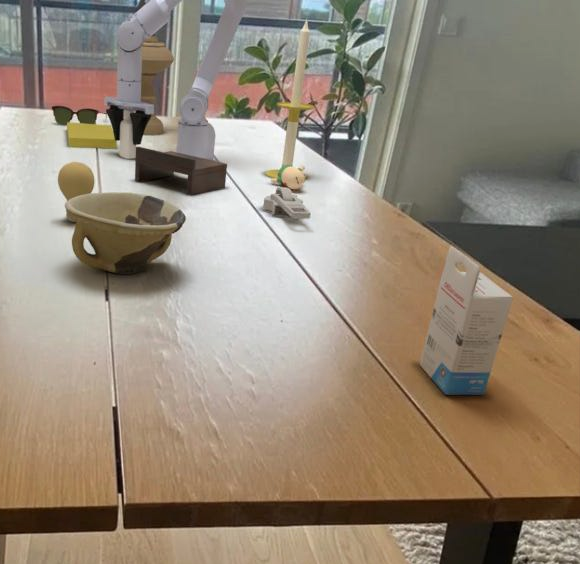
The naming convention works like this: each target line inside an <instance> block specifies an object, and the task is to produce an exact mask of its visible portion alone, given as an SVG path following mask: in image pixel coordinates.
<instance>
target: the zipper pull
mask: <svg viewBox="0 0 580 564" xmlns="http://www.w3.org/2000/svg"><path fill="white" fill-rule="evenodd" d="M262 211H263V212H267V213H269V214H270V213H271V217H277V218H292V219H293V218H294V219H310V218H311V214H312V213H311V211H310V210H309V209H308V208H307V207H306V206H305V205H304V200H303V199H301V198H298V194H293V192H292V189H290V188H289V187H280V186H278V187H276V189H275V192H274V193H271V194H270V195H267V196H265V197H264V199H263V206H262Z"/></svg>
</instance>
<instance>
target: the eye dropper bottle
mask: <svg viewBox="0 0 580 564" xmlns="http://www.w3.org/2000/svg"><path fill="white" fill-rule="evenodd" d="M126 107H127V108H126V109H124V117H123V119H124V120H123V121H121V123H120V140H119V156H120V157H121V158H122V159H126V160H135V159H136V147H137V145H133V128H132V122H131V117H130V113H135V111H131V110H130V109H129V108H132V107H128V106H126Z"/></svg>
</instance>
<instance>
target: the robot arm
mask: <svg viewBox="0 0 580 564" xmlns="http://www.w3.org/2000/svg"><path fill="white" fill-rule="evenodd" d="M183 1H184V0H145V3H146V4H145V5H144V6H143V7H142V8H141V9H140V10H139V11H137V12H136V11H135V13H134V14H133V13H130V14H129V15H128V19H129V20H127V21H124V22H122V23H121V25H120V26H119V27H118V29H117V31H116V37H115V38H116V43H117V44H118V49H117V54H118V55H117V61H116V62H117V64H116V65H117V66H116V67H117V69H116V70H117V71H116V73H117V74H116V97H114V96H104V99H103V106H104V107H109V108H106V109H105V113H107V117H108V119H109V121H110V125H111V127H112V130H113V133H114V138H115V140H116V142H118V141H119V142H120V123H121V121H123V120H124V119H123V117H124V109H126V108H127V106H128V107H131V108H129V109H130V110H131V111H134V113H130V117H131V122H132V128H133V145H136V146H137V145H142V142H143V138H144V135H143V134H144V131H145V128H146V126H147V124H148V122H149V120H150V118H151V114H154V113H155V105H151V104H148V103H145V102H141V73H142V59H141V49H142V47H141V46H142V44H143V43H144V39H145V38H150V37H151V36H152V35H153V34H154V33H155V34H156V33H157V32H158V31H159V30H160V29H161V28H162V27H164V26H165V25H166V24H167V23H168V22H169V21H171V15H172V10H173V9H175V8H176V7H177V6H178V5H180V3H182V2H183ZM223 1H224V8H223V10H222V12H221V15H220V17H219V19H218V22H217V24H216V27H215V29H214V32H213V35H212V37H211V39H210V42H209V44H208V46H207V49H206V52H205V55H204V56H203V59H202V62H201V64H200V67H199V69H198V71H197V74H196V77H195V79H194V81H193V83H192V85H191V87H190V88H191V89H190V90H189V91H187V93H186V94H185V96H184V97H183V98H182V100H181V101H180V104H179V114H180V118H179V119H178V120H177V122H178V123H177V136H176V137H177V140H176V152H177V153H182V154H186V155H191V156H195V157H199V158H204V159H208V160H213V161H217V159H214V157H215V145H216V130H215V128H214V125H212V124H211V123H210V122H209V120H208V119H207V118H206V113H207V112H208V109H209V98H210V94H211V92H212V89H213V87H214V84H215V83H216V80H217V78H218V75H219V73H220V70H221V68H222V65H223V64H224V61H225V59H226V56H227V55H228V51H229V49H230V48H231V47H230V46H231V45H232V42H233V41H234V40H233V39H234V37H235V35H236V33H237V30H238V29H239V26H240V22H241V21H242V18H243V16H244V13H245V11H246V9H247V6H248V0H223ZM135 112H136V113H135Z"/></svg>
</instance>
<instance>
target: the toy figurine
mask: <svg viewBox="0 0 580 564" xmlns="http://www.w3.org/2000/svg"><path fill="white" fill-rule="evenodd" d="M305 169H306V167H305V165H303V164H302V165H300V166H299V167H295V166H293V165H292V166H291V165H284V166H282V165H281V167H280V168H279V169H278V170H279V172H278V178H271V180H270V183H271V184H272V185H275V184H279V183H282V185H283V186H284V187H285V188H289V189H290V190H291V191H295V190H298V189H300V188H301V187H303V185H304V183H305V179H304V174H305V173H304V172H303V171H305Z"/></svg>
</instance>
